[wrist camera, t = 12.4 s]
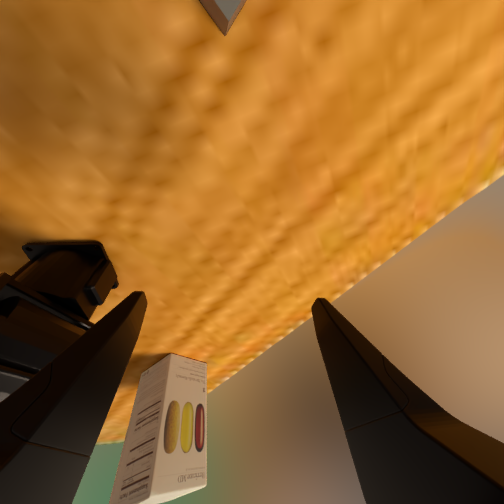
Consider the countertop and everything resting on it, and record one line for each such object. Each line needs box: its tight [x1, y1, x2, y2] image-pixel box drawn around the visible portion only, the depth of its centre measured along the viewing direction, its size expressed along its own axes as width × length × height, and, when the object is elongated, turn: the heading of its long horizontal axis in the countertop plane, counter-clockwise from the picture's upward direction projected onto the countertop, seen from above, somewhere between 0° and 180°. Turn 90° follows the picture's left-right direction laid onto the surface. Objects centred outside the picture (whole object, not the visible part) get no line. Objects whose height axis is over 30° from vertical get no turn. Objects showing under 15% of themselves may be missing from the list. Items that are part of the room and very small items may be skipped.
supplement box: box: [109, 353, 207, 504], centre depth 31 cm, size 10×9×17 cm
